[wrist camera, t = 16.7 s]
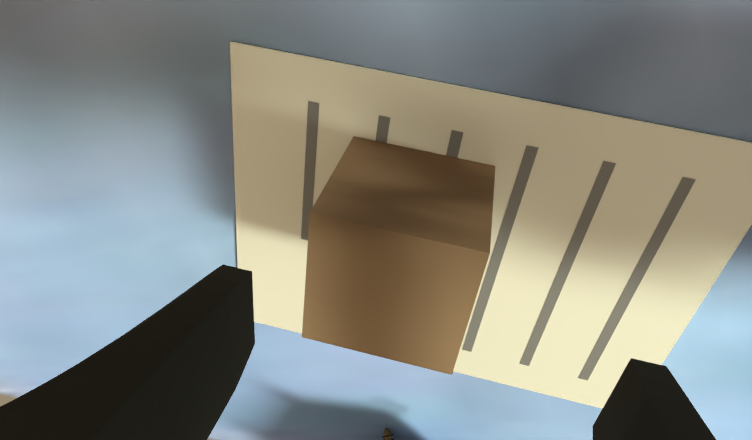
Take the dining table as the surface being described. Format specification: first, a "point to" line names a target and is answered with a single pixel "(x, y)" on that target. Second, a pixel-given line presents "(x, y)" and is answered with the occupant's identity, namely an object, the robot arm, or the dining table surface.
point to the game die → (387, 435)
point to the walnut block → (398, 253)
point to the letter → (502, 212)
